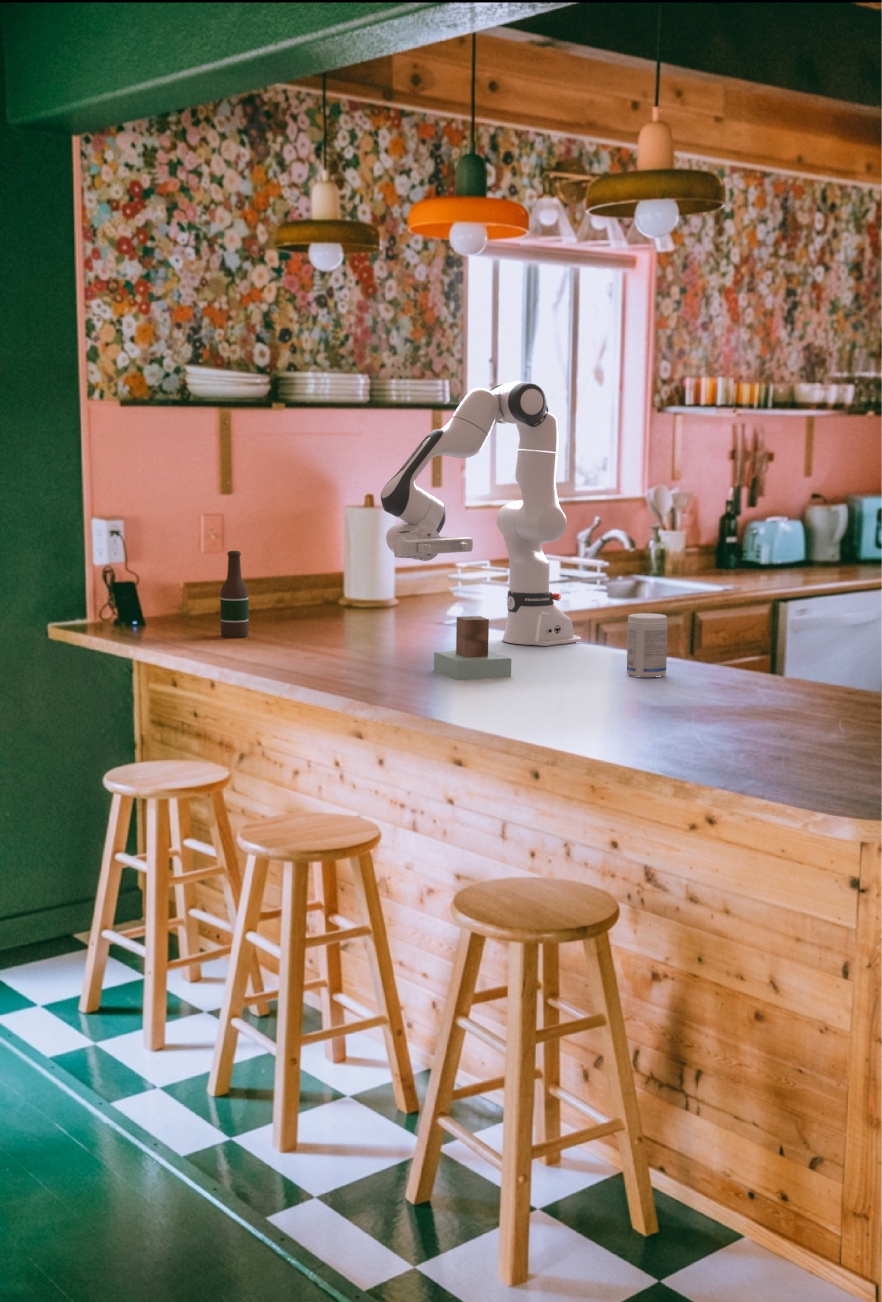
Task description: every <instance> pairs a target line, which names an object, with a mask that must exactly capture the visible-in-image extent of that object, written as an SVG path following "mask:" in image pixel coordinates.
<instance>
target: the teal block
mask: <svg viewBox="0 0 882 1302" xmlns="http://www.w3.org/2000/svg"><path fill="white" fill-rule="evenodd" d="M433 671H434V672H437V673H440V674H442V675H444V676H447V677H449V678H451V679H453V680H456V681H466V680H467V681H468V680H480V679H496V678H498V679H499V678H512V657H510V656H507V655H504V654H501V653H498V652H494V651H492V650H490V649H488V657H468V658H464V657H462V656H460V655H458V654H456V650H447V651H445V650H444V651H434V652H433Z"/></svg>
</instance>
